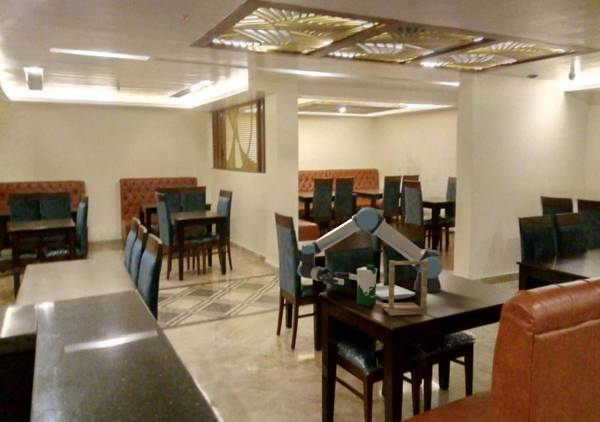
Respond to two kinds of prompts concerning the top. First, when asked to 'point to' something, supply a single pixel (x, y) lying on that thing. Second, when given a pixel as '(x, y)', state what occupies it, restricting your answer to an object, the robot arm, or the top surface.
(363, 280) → the fresh milk carton
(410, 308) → the wooden frame stand
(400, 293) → the salad plate
